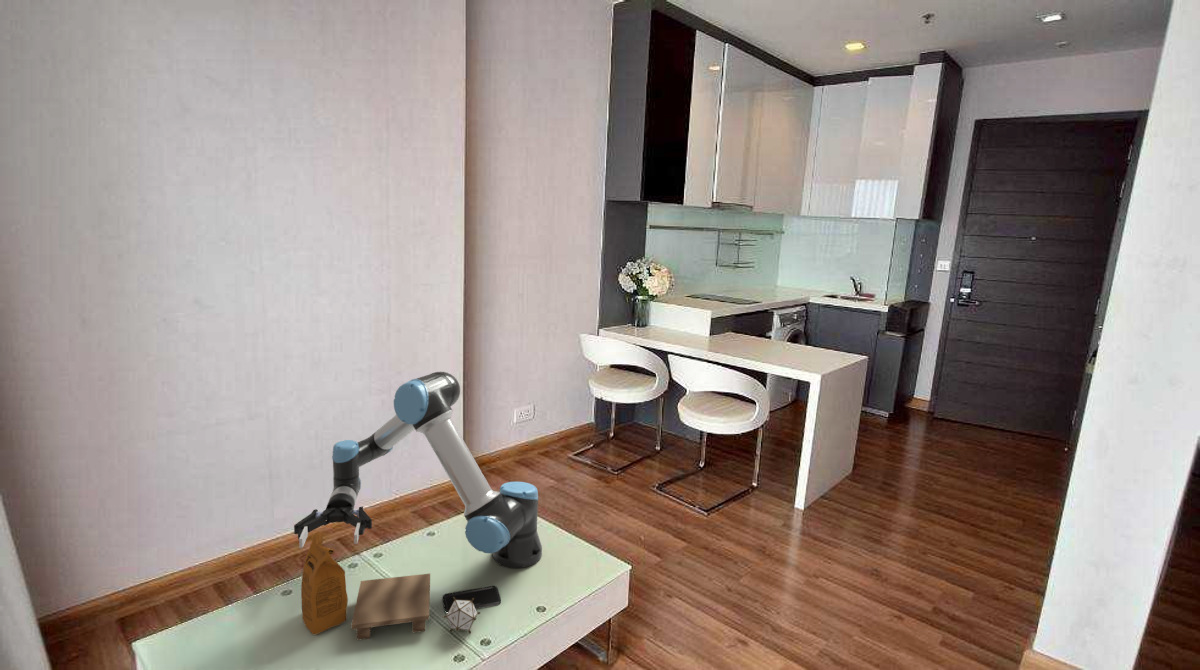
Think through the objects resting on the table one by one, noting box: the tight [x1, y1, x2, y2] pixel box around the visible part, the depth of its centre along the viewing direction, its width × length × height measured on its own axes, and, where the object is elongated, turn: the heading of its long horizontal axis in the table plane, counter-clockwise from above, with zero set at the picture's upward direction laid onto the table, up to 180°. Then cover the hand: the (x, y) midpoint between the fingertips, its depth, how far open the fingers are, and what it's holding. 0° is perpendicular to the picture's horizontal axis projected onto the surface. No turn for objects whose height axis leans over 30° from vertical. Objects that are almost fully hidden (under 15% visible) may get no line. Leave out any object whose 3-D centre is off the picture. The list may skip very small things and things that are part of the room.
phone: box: [442, 585, 502, 612], centre depth 159 cm, size 8×1×15 cm
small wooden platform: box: [350, 573, 431, 641], centre depth 152 cm, size 18×18×5 cm
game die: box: [442, 597, 481, 634], centre depth 147 cm, size 9×8×10 cm
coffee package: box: [300, 531, 349, 635], centre depth 147 cm, size 10×12×22 cm
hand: (328, 541), depth 157 cm, fingers open, 13 cm apart
